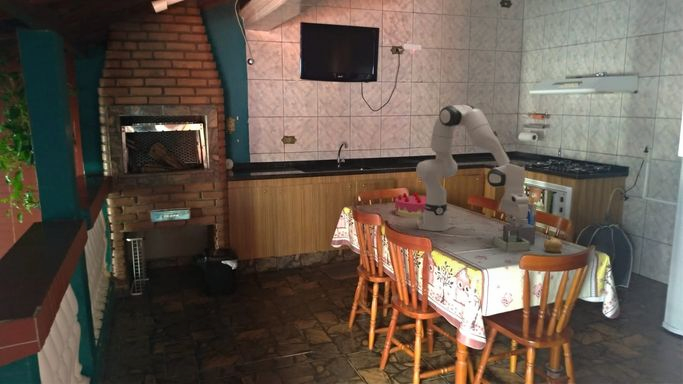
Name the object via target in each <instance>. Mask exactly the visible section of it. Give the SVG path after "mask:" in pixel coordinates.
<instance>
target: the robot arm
mask: <svg viewBox="0 0 683 384" xmlns="http://www.w3.org/2000/svg"><path fill="white" fill-rule="evenodd" d="M462 126H464V127H465V130H466V131H467V132H466V133H467V134H468V136H469V139H470V140H471V142H472V144H473V145H474V146H476V147H478V148H480V149H483V150H486V151H488V152H489V153H490V154H492V156H493V157H494V159H495V161H496V162H497V165H498V167H493V168H491V169H490V170H488V172H487V175H486V179H487V183H488V184H489V186H491V187H493V188H502V187H503V188H504V194H503V195H502V197H501V200H500V205H499V206H500V208H499V209H500V211H501V212H503V213H505V219H506V220H505V221H506V222H507V223H509V224H510V223H511V221H512V217H513V218H514V217H515V219H516V221H515V222H514V226H519V222H520V220H521V219H526V218H527V215H528V204H527V203H528V202H530V198H529V197H528V196H527V195H526V193H525V187H524V184H525V181H526V169H525V165H524V164H522V163H521V162H518V161H512V160H511V159H510V156H509V155H508V152H507V151H506V148H504V146H503V144H502V142H501V141H500V140H499V138H498V137H497V136H496V135H495V133H494V131H493V130H492V127H491V125H490V124H489V121H488V119H487V117H486V115H485V114H484V113H483V111H482V110H481V109H479V108H475V107H474V106H473V105H470V104H455V105H454V104H453V105H447V106H444V107H443V108H442V109H441V110H440V111H439V115H437V117H436V120H435V122H434V126H433V129H432V136H431V141H430V148H431V150H432V152H434V153H435V159H426V160H423V161H420V162H419V163H418V164H417V165H416V167H415V169H416V171H415V172H416V175H417V177H418V178H419V179H420V180H421V181H422V182H423V184H424V187H425V194H426V195H425V196H426V204H425V210H424V211H423V213H422V214H421V216H419V219H418V220H419V221H416V224H417V225H416V226H417V227H418V230H425V231H432V232H442V231H443V232H444V231H447V230H449V229H452V228H453V225H451V224H450V213H449V212H448V211H447V210H448V204H447V194H448V193H447V189H446V188H445V187H444V186H442V184H441V179H448V178H452V177H454V176H455V175H457V173H458V170H459V169H458V168H459V167H458V163H457V161H456V160H455V159H454V158H453V154H452V146H453V139H454V135H455V134H454V133H455V130H456V129H455V128H456V127H462Z"/></svg>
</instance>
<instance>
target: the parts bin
mask: <svg viewBox="0 0 683 384" xmlns="http://www.w3.org/2000/svg"><path fill="white" fill-rule="evenodd" d="M516 239H517V236H510V235H508V243H506V242H504V241H503V235H502V236H493V246H495V247H497V248H499V249H501V250H502V251H504V252H506V253H507V252H508V253H510V252H512V253H513V252H524V251H526V252H527V251H530V250H531V245H530V242H528V241H526V240H524V239H522V242H519V243H516Z"/></svg>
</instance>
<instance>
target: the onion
mask: <svg viewBox="0 0 683 384" xmlns="http://www.w3.org/2000/svg"><path fill="white" fill-rule="evenodd" d="M543 247H544V250H545V251H547V252H551V253H559V252H561V251H562V249H563V243H562V241H561V240H559V239H558V238H555V237H554V236H548V237H547V239H546V240H544V244H543Z"/></svg>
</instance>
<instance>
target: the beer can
mask: <svg viewBox="0 0 683 384" xmlns="http://www.w3.org/2000/svg"><path fill="white" fill-rule="evenodd" d="M526 219H528V224H530V225H532V226H534V227H535V228H536V226H535V224H536V215H530V208H528V215H527V218H526Z"/></svg>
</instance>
